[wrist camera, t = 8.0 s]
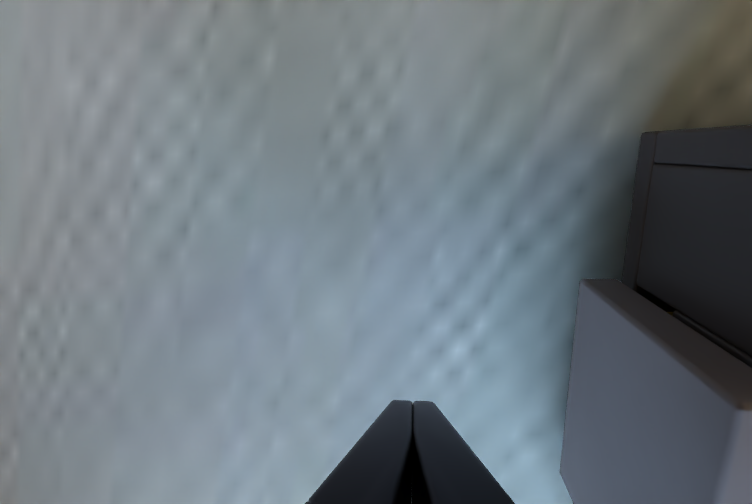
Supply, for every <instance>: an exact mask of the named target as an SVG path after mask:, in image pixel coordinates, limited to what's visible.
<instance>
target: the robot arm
mask: <svg viewBox="0 0 752 504" xmlns="http://www.w3.org/2000/svg"><path fill="white" fill-rule="evenodd" d="M305 504H515V503H514V502H513V501H512V500H511V498H510V497H509V496H508V495H507V493H506V492H505V491H504V490H503V488H502V487H501V486H500V485H499V483H498V482H497V481H496V480H495V478H494V477H493V476H492V475H491V473H490V472H489V471H488V470H487V468H486V467H485V466H484V465H483V463H482V462H481V461H480V460H479V459H478V457H477V456H476V455H475V454H474V452H473V451H472V450H471V449H470V447H469V446H468V445H467V444H466V442H465V441H464V440H463V439H462V437H461V436H460V435H459V434H458V432H457V431H456V430H455V429H454V427H453V426H452V425H451V424H450V422H449V421H448V420H447V419H446V417H445V416H444V415H443V414H442V412H441V411H440V410H439V409H438V408H437V406H436V405H435V404H434V403H433V402H429V401H415V402H414V403H413V405H412V402H411V401H404V400H393V401H392V402H391V403H390V404H389V405H388V406H387V407H386V409H385V410H384V411H383V412H382V413H381V415H380V416H379V417H378V418H377V419H376V420H375V422H374V423H373V424H372V425H371V426H370V428H369V429H368V430H367V431H366V432H365V433H364V435H363V436H362V437H361V438H360V439H359V441H358V442H357V443H356V444H355V445H354V447H353V448H352V449H351V450H350V451H349V452H348V454H347V455H346V456H345V457H344V458H343V460H342V461H341V462H340V463H339V464H338V465H337V467H336V468H335V469H334V470H333V471H332V473H331V474H330V475H329V476H328V477H327V479H326V480H325V481H324V482H323V483H322V484H321V486H320V487H319V488H318V489H317V490H316V492H315V493H314V494H313V495H312V496H311V497H310V499H309V502H306V503H305Z"/></svg>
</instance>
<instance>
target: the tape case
mask: <svg viewBox="0 0 752 504" xmlns="http://www.w3.org/2000/svg"><path fill="white" fill-rule="evenodd" d="M622 283H623V284H625V285H626V286H628V287H629V288H631V289H632V290H634V291H635V292H637V293H638V294H640V295H641V296H643V297H644V298H646V299H647V300H649V301H650V302H652V303H654V304H655V305H657V306H658V307H660V308H661V309H663V310H664V311H666V312H673V315H672V316H673V317H675V318H676V319H678V320H679V321H681V322H682V323H684V324H686V325H687V326H689V327H690V328H692V329H693V330H695V331H696V332H698V333H699V334H701V335H702V336H704V337H705V338H707V339H708V340H710V341H711V342H713V343H714V344H716V345H718V346H719V347H721V348H722V349H724V350H725V351H727V352H728V353H730V354H731V355H733V356H734V357H736V358H737V359H739V360H740V361H742V362H743V363H745V364H746V365H748V366H750V367H751V368H752V125H745V126H730V127H715V128H700V129H685V130H670V131H655V132H645V133H642V135H641V140H640V147H639V155H638V163H637V170H636V178H635V185H634V193H633V200H632V208H631V216H630V223H629V231H628V238H627V246H626V254H625V261H624V269H623V276H622Z"/></svg>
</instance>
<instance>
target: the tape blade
mask: <svg viewBox="0 0 752 504" xmlns="http://www.w3.org/2000/svg"><path fill="white" fill-rule="evenodd" d="M672 315H673V312H666V311H664V310H663V309H661V308H660V307H658V306H657V305H655V304H654V303H652V302H650V301H649V300H647V299H646V298H644V297H643V296H641V295H640V294H638V293H637V292H635V291H634V290H632V289H631V288H629V287H628V286H626V285H625V284H623V283H622V282H620V281H618V280H616V279H581V281H580V285H579V295H578V304H577V314H576V323H575V332H574V342H573V351H572V361H571V370H570V379H569V389H568V398H567V408H566V417H565V427H564V436H563V445H562V455H561V464H560V474H561V476H562V479H563V481H564V483H565V485H566V488H567V490H568V492H569V494H570V497H571V499H572V501H573V503H574V504H752V368H751V367H750V366H748V365H746V364H745V363H743V362H742V361H740V360H739V359H737V358H736V357H734V356H733V355H731V354H730V353H728V352H727V351H725V350H724V349H722V348H721V347H719V346H718V345H716V344H714V343H713V342H711V341H710V340H708V339H707V338H705V337H704V336H702V335H701V334H699V333H698V332H696V331H695V330H693V329H692V328H690V327H689V326H687V325H686V324H684V323H682V322H681V321H679V320H678V319H676V318H675V317H673V316H672Z"/></svg>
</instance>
